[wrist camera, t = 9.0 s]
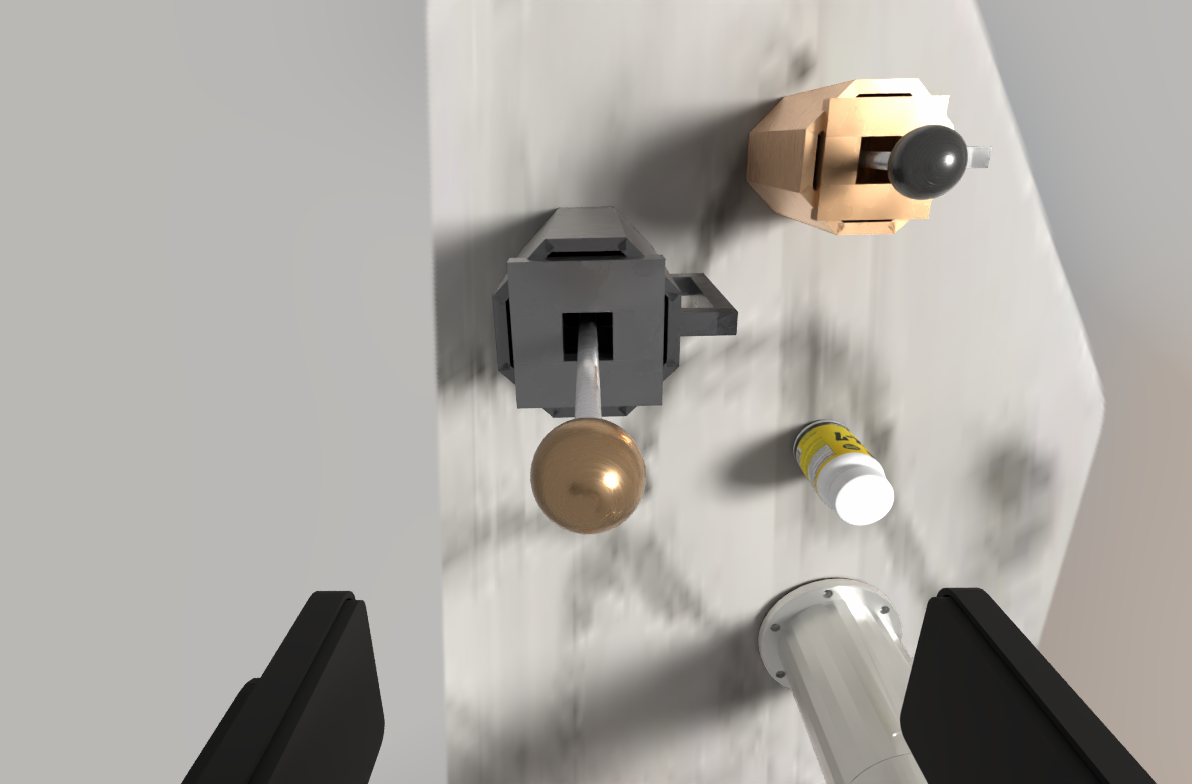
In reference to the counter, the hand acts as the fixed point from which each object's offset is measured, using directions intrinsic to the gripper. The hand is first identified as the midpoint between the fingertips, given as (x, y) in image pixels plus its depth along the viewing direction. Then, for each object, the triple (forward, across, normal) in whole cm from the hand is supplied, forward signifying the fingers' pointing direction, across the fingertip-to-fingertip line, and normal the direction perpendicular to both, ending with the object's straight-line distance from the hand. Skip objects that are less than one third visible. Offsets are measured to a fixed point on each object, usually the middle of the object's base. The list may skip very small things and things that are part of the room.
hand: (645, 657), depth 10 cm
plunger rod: (+27, +1, +1) cm, 27 cm away
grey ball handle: (+36, -13, -7) cm, 39 cm away
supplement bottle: (+36, -18, +14) cm, 43 cm away
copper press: (+36, -15, -7) cm, 40 cm away
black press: (+36, -1, +1) cm, 36 cm away
